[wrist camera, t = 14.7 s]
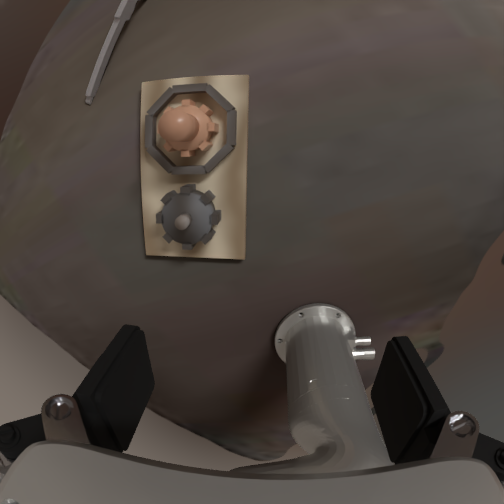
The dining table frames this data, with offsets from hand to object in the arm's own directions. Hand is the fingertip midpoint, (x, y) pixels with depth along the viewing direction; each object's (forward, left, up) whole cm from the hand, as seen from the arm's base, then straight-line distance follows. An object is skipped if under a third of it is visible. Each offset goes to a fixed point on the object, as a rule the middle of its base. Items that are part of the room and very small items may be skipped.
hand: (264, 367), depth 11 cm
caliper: (+22, -25, -31) cm, 45 cm away
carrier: (+10, -5, -30) cm, 32 cm away
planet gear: (+10, -10, -29) cm, 32 cm away
